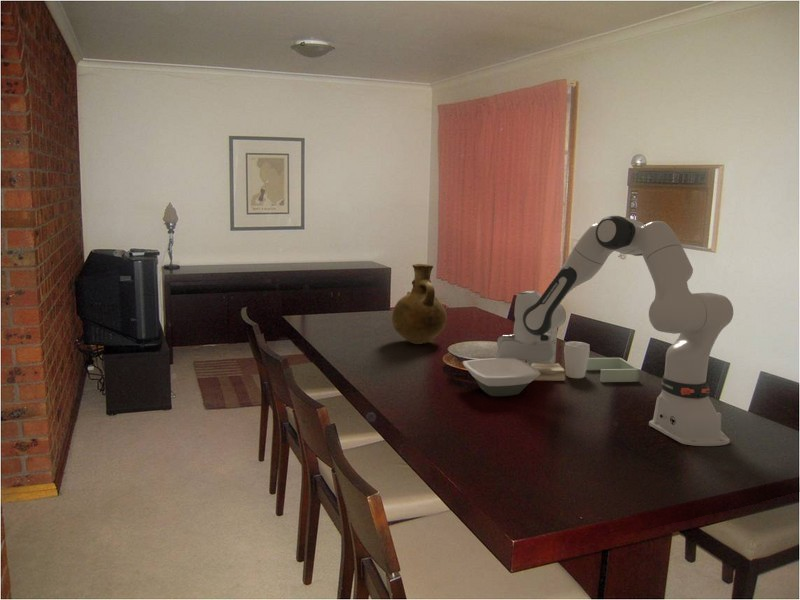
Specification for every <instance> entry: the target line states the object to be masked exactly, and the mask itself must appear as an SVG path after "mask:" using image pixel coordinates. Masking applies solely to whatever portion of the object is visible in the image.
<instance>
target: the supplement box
mask: <svg viewBox="0 0 800 600" xmlns="http://www.w3.org/2000/svg"><path fill="white" fill-rule="evenodd" d="M546 333H548V334H549V335H550V336H551V341H550V342H551V343H552V345H553V358H552V359H551V360H532V363H556V352H557V336H558V328H555V329H553V330H551V331H548V332H546Z"/></svg>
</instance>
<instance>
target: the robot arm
mask: <svg viewBox="0 0 800 600" xmlns="http://www.w3.org/2000/svg"><path fill="white" fill-rule="evenodd" d="M613 252H616V253H617V252H618V253H619V254H620V253H621V254H624V255H630V256H635V257H636V256H637V257H639V256H640V257H641V256H642V257H643V260H644V263H645V264H646V268H647V269H648V272H649V274H650V276H651V278H652V281H653V284H654V289H655V294H654V296H655V297H654V299H653V301H652V302H651V304H650V305H649V308H648V318H649V322H650V324H651V326H652V328H654V329H655V330H656V331H657V332H662V333H667V334H673V335H674V334H677V335H678V338H677V339H676V341H675V342H674V343H672V344H671V345H670V346H669V347H668V348H667V351H666V353H665V364H664V374H663V376H662V379H661V389H662V390H661V392H660V394H659V395H658V396H657V397H656V402H655V407H654V413H653V418H652V419H651V420H649V422H648V426H649V427H652V428H654V429H655V430H656V431H658V432H660V433H662V434H664V435H665V436H668V437H669V438H671V439H673V440H674V441H677V442H678V443H680V444H682V445H689V446H696V447H717V446H725V445H729V444H730V443H731V440H730V438H729V437H728V436H727V435H726V434H725V433H724V432H723V431H722V413H720V412H717V410H716V409H715V406H714V405H713V403H712V401H711V399H710V398H709V395H710V393H711V388H709V384H708V381H707V377H708V375H707V374H708V366H709V360H710V355H711V351H712V348H713V347H714V345H715V343H716V340H717V339H718V337H719V335H720V333H721V332H722V331H723V330H724V328H726V326H728V325H729V324H730V323H731V322H732V320H733V316H734V307H733V306H734V305H733V303H732V301H731V300H730V299H729V298H728V297H726V296H725V295H722V294H718V293H712V292H698V293H697V292H696V293H692V292H691V291H690V289H689V285H688V281H690V279H691V278H692V276H693V272H694V269H693V266H692V263H691V262H690V260H689V257H688V256H687V253H686V252H685V249H684V247H683V245H682V243H681V241H680V239H679V238H678V236H677V235H676V233H675V232H674V230H672V228H671V227H670V226H669V224H668V223H666V222H665V221H661V220H653V221H649V222H647V223H645V222H642V221H639V220H636V219H634V218H630V217H626V216H625V217H624V216H621V215H609V216H606V217H603V218H602V219H601V220H600V221H599V222H597V223H594V224H592V225H591V226H590V227H589V228H588V229H587V230H586V231H585V232H584V233H583V234H582V236H581V237H580V238H579V239H578V241H577V242H576V244H575V245H574V247H573V248H572V250H571V252H570V254H569V255H568V256H567V258H566V260H565V262H564V263H563V265H562V267H561V268H560V269H559V272H558V273H557V275H556V276H555V277H554V279H552V281H551V283H549V285H548V287H547V288H546V290H544V292H543V294H541V293H540V292H539V291H538V290H526V291H521V292H519V293H518V294H517V295H516V297H515V301H514V313H513V314H514V318H515V319H514V323H513V334H502V335H500V336H499V337H498V338H497V341H496V345H497V350H496V358H516V359H518V360H521V361H526V363H527V364H529V365H530V366H531V364H532V360H551V359H552V358H553V345H552V343H551V342H550V341H551V336H550V335H549V334H548V333H546V332H548V331H551V330H553V329H555V328H557V329H558V328H559V327H561V326H563V325H564V324H565V321H566V318H567V314H566V313H567V312H566V310H565V308H564V306H563V305H562V304H561V303H562V302H563V300H564V299H565V298H566V296H567V295H568V294H569V293H570V292H572V290H574V288H575V289H576V287H578V286H580V285H582V284H584V283H585V282H587V281H589V280H591V279H592V278H593V277H594V276H595V275H597V273H598V272H599V271H600V270H601V268H602V267H603V266H604V264H605V263H606V261H607V259H608V257H610V256H611V254H612V253H613Z"/></svg>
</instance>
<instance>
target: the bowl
mask: <svg viewBox="0 0 800 600" xmlns="http://www.w3.org/2000/svg"><path fill="white" fill-rule="evenodd" d="M527 363H528V362H525V361H524V360H522V361H521V360H518V359H516V358H497V357H494V358H493V357H492V358H490V357H489V358H478V359H470V360H469V359H468V360H464V361H463V360H462V365H463V366H464V367H465V369H466V370H467V371H468V372H469V374H471V376H472V377H473V378H474V380H475V381H476V383H477V384H478V386H479V387H480V389H481V391H483V392H484V393H485V394H487V395H488V396H491V397H507V396H508V397H510V396H517V395H519V394H520V393H522V391H523V390H525V388H526V387H527V386H528V385H529V384H530V383H532V382H533V381H535V380H534V379H535V378H537V377H538V376H539V375H540V374H541V373H540V372H539V371H538V370H537V369H535V368H534V367H532V366H530V365H529V364H527Z"/></svg>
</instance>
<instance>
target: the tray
mask: <svg viewBox="0 0 800 600" xmlns="http://www.w3.org/2000/svg"><path fill="white" fill-rule="evenodd" d="M640 370H641V369H639V368H638V367H637V366H635V365H633V364H632V363H630V362H628V361H626V360H625V359H624V358H622V357H589V358H588V363H587V368H586V371H600V374H599V375H600V376H599V382H600V383H627V382H628V383H633V382H635V383H637V382H638V383H639V380H640Z"/></svg>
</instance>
